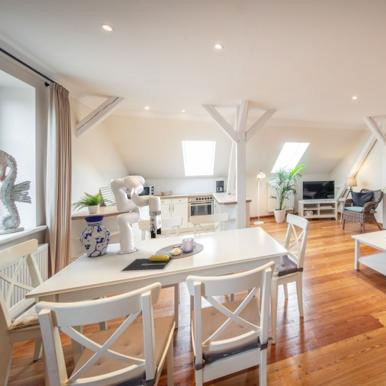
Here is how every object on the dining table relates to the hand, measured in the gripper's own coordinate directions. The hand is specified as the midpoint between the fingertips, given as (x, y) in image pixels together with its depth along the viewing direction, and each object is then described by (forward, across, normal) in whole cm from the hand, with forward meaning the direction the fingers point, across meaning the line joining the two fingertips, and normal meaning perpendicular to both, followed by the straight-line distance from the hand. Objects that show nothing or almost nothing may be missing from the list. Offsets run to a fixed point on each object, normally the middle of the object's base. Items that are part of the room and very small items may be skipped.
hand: (156, 236), depth 163 cm
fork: (+18, -9, -2) cm, 20 cm away
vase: (+18, +17, +52) cm, 58 cm away
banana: (+18, -1, -2) cm, 18 cm away
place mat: (+18, -7, +3) cm, 20 cm away
